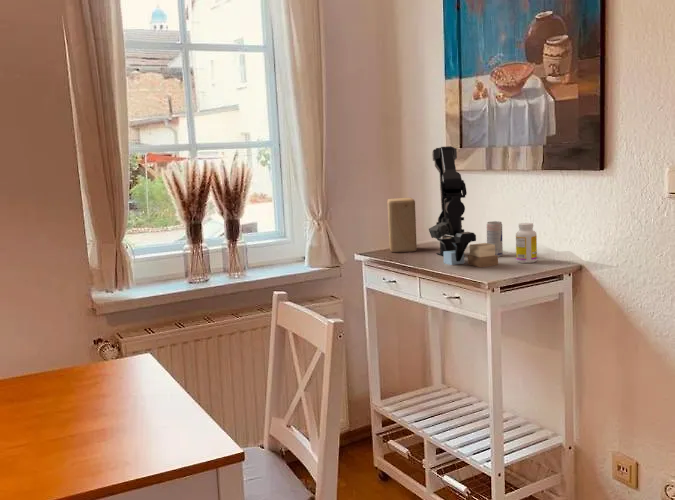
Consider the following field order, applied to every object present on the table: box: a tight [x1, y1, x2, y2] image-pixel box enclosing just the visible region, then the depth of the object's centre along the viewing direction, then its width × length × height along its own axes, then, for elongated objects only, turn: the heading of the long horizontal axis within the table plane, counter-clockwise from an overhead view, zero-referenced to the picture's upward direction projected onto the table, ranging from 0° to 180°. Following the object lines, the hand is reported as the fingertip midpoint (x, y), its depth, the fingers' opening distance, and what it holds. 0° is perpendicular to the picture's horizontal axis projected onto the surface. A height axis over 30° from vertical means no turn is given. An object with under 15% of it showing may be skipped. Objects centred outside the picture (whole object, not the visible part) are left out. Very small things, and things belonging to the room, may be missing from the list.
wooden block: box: [386, 197, 418, 253], centre depth 263 cm, size 10×10×20 cm
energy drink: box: [486, 220, 504, 258], centre depth 241 cm, size 5×5×12 cm
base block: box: [467, 254, 499, 268], centre depth 227 cm, size 7×7×4 cm
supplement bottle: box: [515, 222, 538, 264], centre depth 227 cm, size 7×7×13 cm
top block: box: [443, 250, 465, 266], centre depth 232 cm, size 5×5×4 cm
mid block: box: [469, 242, 495, 257], centre depth 227 cm, size 6×6×4 cm
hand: (453, 260), depth 232 cm, fingers closed on top block, 5 cm apart
